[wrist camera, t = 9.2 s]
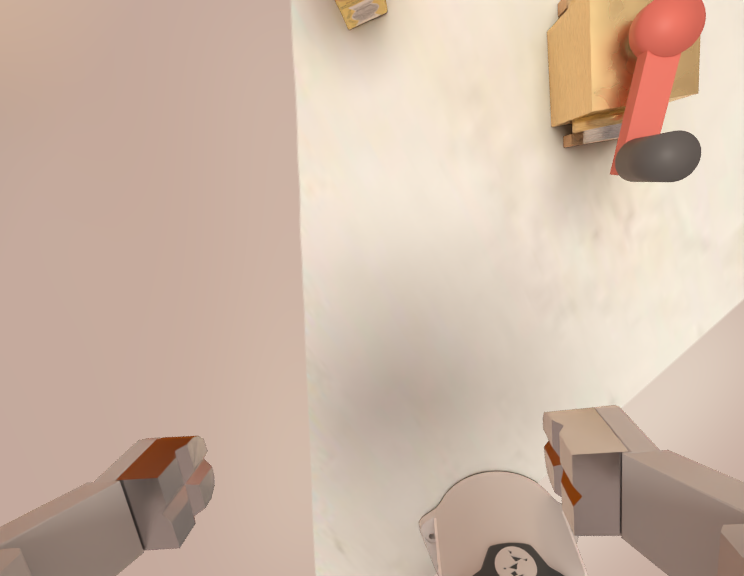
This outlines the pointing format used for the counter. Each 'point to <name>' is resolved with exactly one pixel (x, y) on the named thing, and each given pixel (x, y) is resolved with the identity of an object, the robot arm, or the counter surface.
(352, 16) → the candy box
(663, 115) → the lever
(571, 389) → the counter surface
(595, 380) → the counter surface
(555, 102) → the valve
